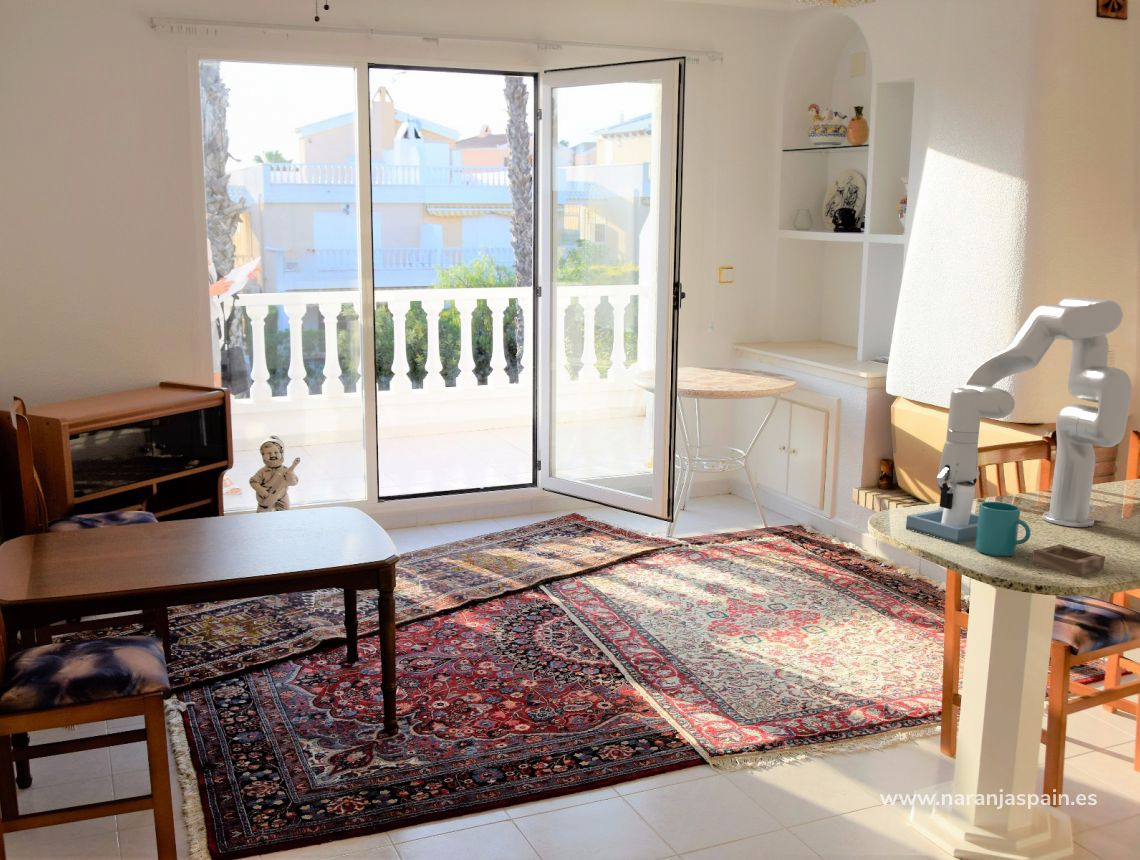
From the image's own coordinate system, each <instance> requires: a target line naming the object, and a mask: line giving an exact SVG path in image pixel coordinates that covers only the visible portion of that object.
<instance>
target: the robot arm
mask: <svg viewBox="0 0 1140 860" xmlns="http://www.w3.org/2000/svg"><path fill="white" fill-rule="evenodd" d="M1122 320H1123V309H1122V307H1121V306H1120V304H1118V303H1117V302H1116V301H1114V300H1110V299H1104V298H1091V297H1082V296H1069V297H1065V298H1063V299H1061V300H1060V301H1059V302H1058V303H1057V304H1049V303H1048V304H1047V303H1046V304H1041V305H1039V306H1036V307H1035V308H1034V309H1033V310H1032V311H1031V313H1030V315H1029V316H1028V317H1027V318H1026V320H1025V322H1024V323H1023V324H1022V325H1021V327H1020V329H1018V331H1017V333H1016V334H1015V336H1014V337H1013V338H1012V340H1011V341H1010V342H1009V343H1008V344H1007V347H1006V348H1004V349H1003V350H1001V351H1000V352H998V353H996V354H994V355H993V356H991V357H990V358H988V359H987V360H985V361H983V362H982V363H981V364H980V365H978V366H977V367H976V368H975V369H974V370H973V371H972V372H971V374H970V376H969V377H968V378H967V380H966V381H965V383H964V384H963V386H962V387H957V388H954V389H953V390H952V391H951V393H950V399H949V407H948V408H949V409H948V417H947V418H948V420H947V429H946V441H945V442H944V444H943V446H942V447H943V448H942V451H941V456H940V461H939V467H938V468H939V469H938V475H937V477H936V482H937V485H938V488H939V492H940V497H939V506H940V507H943V508H947V509H951V508H952V501H953V493H951V492H952V490H953V488H954V486H955V484H956V483H963V482H968V481H969V482H972V483H974V484H975V485H976V483H977V481H978V478H979V476H980V474H981V472H980V471H979V470H978V465H979V464H978V462H979V452H978V451H979V446H978V444H979V438H980V437H979V436H980V435H979V434H980V424H981V418H989V419H996V420H997V419H1003V418H1006V417H1008V416H1009V415H1010V414H1011V413H1012V412H1013V411H1014V410H1015V403H1016V402H1015V398H1014V396H1013V395H1012V394H1011V393H1010V392H1009V391H1007V390H1005V389H1003V388H1002V389H1001V388H998V387H994V386H995V385H996V384H997V383H998V382H1001V380H1003V379H1005V378H1007V377H1010V376H1012V375H1017V374H1020V373H1023V372H1027V371H1030V370H1032V369H1034V368H1036V367H1037V366H1038V365H1039V363H1040V362H1041V360H1043V358H1044V356H1045V355H1046V353H1047V352H1048V350H1049V349H1050V347H1052V345H1053V343H1054V342H1055V340H1063V341H1071V342H1072V353H1071V360H1070V367H1069V372H1068V381H1067V390H1068V393H1069V394H1070V396H1072V397H1073V398H1075V399H1078V400H1082V401H1087V402H1092V403H1098V405H1097V406H1098V407H1095V406H1092V405H1087V404H1080V403H1071V404H1069V405H1066V406H1063V407H1062V408H1061V409H1060V410H1059V412H1058V413H1057V415H1056V418H1055V419H1056V420H1055V431H1056V432H1055V433H1056V453H1055V454H1056V455H1055V462H1054V470H1053V471H1054V472H1053V478H1052V479H1053V480H1052V486H1051V496H1050V504H1049V511H1045V512H1043V513H1042V519H1043V520H1044V521H1045V522H1048V523H1051V524H1056V525H1060V526H1065V527H1074V528H1087V527H1088V526H1089V527H1092V526H1094V524H1095V520H1094V519H1093V518H1091V517H1090V516H1089V513H1092V512H1095V511H1096V506H1095V505H1094V504H1091V496H1092V489H1093V483H1094V480H1093V479H1094V474H1095V467H1096V454H1095V449H1094V447H1093V445H1094V446H1099V447H1105V448H1112V447H1115V446H1117V445H1118V444H1119V443H1120V442H1121V441H1122V440H1123V438H1124V436H1125V434H1126V429H1127V424H1128V418H1129V411H1130V404H1131V400H1132V399H1131V398H1132V393H1133V385H1132V380H1131V377H1130V375H1129V374H1128V373H1127V372H1126V371H1125V370H1123V369H1120V368H1118V367H1117V368H1116V367H1110V366H1108V360H1109V359H1108V358H1109V349H1110V347H1109V346H1110V345H1109V339H1108V337H1107V335H1108V334H1111V333H1113V332H1115V330H1117V329H1118V328H1119V327H1120V325H1121V323H1122ZM950 479H951V481H950ZM949 484H950V485H949ZM975 485H974V488H975V487H976V486H975ZM948 486H949V487H948Z"/></svg>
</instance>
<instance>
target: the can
mask: <svg viewBox="0 0 1140 860" xmlns="http://www.w3.org/2000/svg"><path fill="white" fill-rule="evenodd" d="M949 485H950V484H948V487H949ZM975 485H976V483H975V484H974V483H972V482H969V481H968V482H963V483H956V484H955V486H954V488H953V490H952V492H951V493H953V501H952V508H951V509H947V508H944V511H943V516H942V521H941V523H942V524H946V525H949V526H953V527H961V526H966V525H968V523H969V519H970V514H971V513H972V508H973V504H974V499H975V495H976V489H975V488H974V486H975Z"/></svg>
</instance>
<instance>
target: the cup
mask: <svg viewBox="0 0 1140 860" xmlns="http://www.w3.org/2000/svg"><path fill="white" fill-rule="evenodd" d="M978 506H979V508H978V514H977V515H978V524H977V533H976V539H975V543H974V544H975V546H974V548H975V550H976V551H978V553H981V554H983V553H984V555H987V556H991V555H992V556H991V557H998V558H999V557H1003V558H1005V557H1006V558H1007V557H1011V556H1015V554H1016V551H1017V545H1022V544H1025V543H1026V542H1027V541H1028V540H1029V539H1030V537H1031V534H1032V533H1031V528H1030V526H1029V524H1028V523H1027V522H1025V521H1024V520H1022V519H1020V515H1021V508H1020V507H1019V506H1017V505H1014V504H1011V503H1008V502H1007V503H1006V502H1000V501H983V502H980V503H979V505H978ZM1019 525H1021V526H1022V527H1023V528H1024V530H1025V536H1024V537H1023V538H1022V539H1018V534H1019V533H1018V532H1019Z"/></svg>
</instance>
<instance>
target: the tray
mask: <svg viewBox="0 0 1140 860" xmlns="http://www.w3.org/2000/svg"><path fill="white" fill-rule="evenodd" d="M943 511H944V509H940V510H939V509H935V510H930V511H924V512H919V513H914V514H909V515H907V516H906V522H905V523H906V524H905V530H908V529H910V530H909V531H911V530H914V531H913V532H915V531H917V532H916V533H918V532H921V533H920V534H922V533H925V534H929V535H932V536H935V537H934V538H936V537H938V538H937V539H939V538H942V539H941V540H943V539H945V540H944V541H946V540H948V541H947V542H950V541H951V542H950V543H953V542H954V544H960V543H959V542H962V543H965V541H966V542H970V541H969V540H971V541H976V533H977V524H978V515H979V514H977V513H973V512H971V514H970V519H969V523H968V525H966V526H961V527H953V526H949V525H946V524H942V523H941V521H942V516H943ZM925 534H924V535H925ZM929 535H928V536H929ZM932 536H931V537H932Z"/></svg>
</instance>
